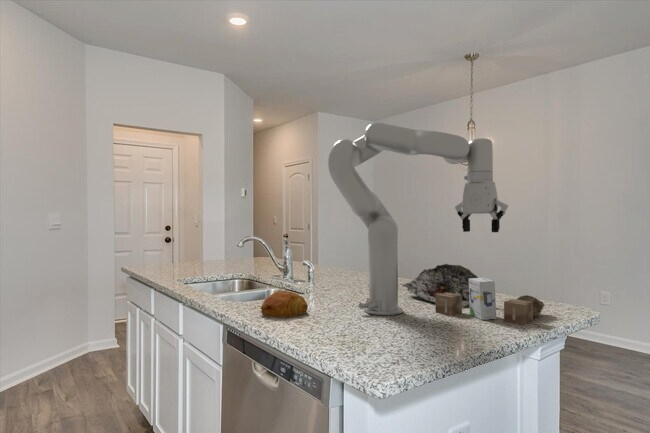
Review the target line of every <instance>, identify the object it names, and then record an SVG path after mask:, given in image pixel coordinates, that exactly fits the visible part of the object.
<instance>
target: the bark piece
mask: <svg viewBox="0 0 650 433" xmlns="http://www.w3.org/2000/svg"><path fill="white" fill-rule="evenodd" d="M470 278H479V277H478V276H477V275H476V274H475V273H474V272H472V271H471V270H470V269H468V268H466V267H464V266H462V265H460V264H449V263H444V264H441V265H439V264H438V265H436V266H435V267H434V268H429V269H423V271H421V272H420V273H419V275H418V276H417V277H416V278H414V279H413V280H411V281H409V282H406V283H405V284H401V286H402V287H403V288H406V290H407V291H408V292H409V293H412V294H414V295H415V296H418V297H419V298H421V299H424V300H425V301H428V302H432V303H435V304H436V294H441V293H446V292H447V293H453V294H459V295H462V309H463V308H464V307H467V306H468V305H469V279H470Z"/></svg>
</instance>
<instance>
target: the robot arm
mask: <svg viewBox="0 0 650 433" xmlns="http://www.w3.org/2000/svg"><path fill="white" fill-rule="evenodd" d="M493 147H494V146H493V141H492V140H491V139H490V138H486V137H485V138H474V139H470V140H469V141H468V140H467V138H465V137H463V136H460V135H456V134H452V133H447V132H442V131H436V130H424V129H414V128H410V127H403V126H398V125H393V124H387V123H384V122H376V121H375V122H372V123H370V124H368V125H367V127H366V128H365V130H364V135H363V136H361V137H359V138H357V139H355V140H354V141H353V140H352V139H349V138H342V139H340V140H337V141H336V142H335V143H334V144H333V146H332V147H331V150H330V152H329V155H328V158H327V159H328V160H327V166H328V171H329V172H328V173H329V175H330V177H331V179H332V181H333V183H334V184H335V186H336V187H337V189H338V190H339V192H340V193H341V195H342V197H343V198H344V199H345V201H346V202H347V204H348V205H349V207H350V208H351V210H352V212H353V214H354V215H355V216H357V217H358V218H360V219H359V220H360V221H361V222H362V223H363V225H364V226H365V227H366V228H367V230H368V231H367V242H368V282H369V283H368V297H367V298H366V301H363V302H359V304H358V308H359V309H361V310H362V309H364V310H363V311H364V312H365V313H367V314H370V315H375V316H376V315H377V316H395V315H400V314H402V313H403V310H404V309H403V307H402V306H400V305H399V276H398V275H399V267H398V266H399V262H398V257H399V256H398V254H399V252H398V251H399V250H398V249H399V248H398V244H399V242H398V240H399V239H398V238H399V234H398V233H399V226H398V223H397V221H396V220H395V219H394V218H393V216H392V215H391V213H390V212H389V210H388V209H387V208H386V207H385V205H384V204H383V202H382V201H381V200H380V198H379V197H378V195H376V194H375V193H374V192H373V191H372V190H371V189H370V188H369V186H368V185H367V184H366V182H365V181H364V180H363V178H362V177H361V175H360V174H359V172H358V170H356V167H358V166H360V165H361V164H363V163H365V162H366V161H368V160H370V159H372V158H373V157H375V156H377V155H378V154H380V153H382V152H384V151H387V152H392V153H398V154H402V155H406V156H417V155H427V156H428V155H430V156H434V157H435V156H436V157H439V158H440V157H441V158H443V160H444V161H445V162H446V163H448V164H450V165H457V164H460V165H461V164H465V163H466V164H467V173H466V174H467V175H464V178H463V179H464V180H465V181H466V182H465V183H464V188H463V193H462V202H460V203H458V204H457V205H455V207H454V208H455V210H456V211H455V212H456V213H457V215H458V216H459V217H460V220H462V223H461V224H462V226H461V227H462V231H463V232H465V233H467V232H470V231H471V220H470V219H469V218H470V216H472V214H477V215H478V214H489V215H490V216H491V218H492V219H491V233H499V232H500V231H499V230H500V220H501V219H502V217H503V216H504V215H505V214H506V211H507V209H508V207H509V206H508V204H507V203H504V202H502V201H500V200H499V199H498V192H497V185H496V183H495V181H494V172H493V171H494V166H493V161H494V160H493V159H494V158H493V152H494V150H493ZM499 207H500V210H499ZM498 210H499V211H498Z"/></svg>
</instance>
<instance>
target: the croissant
mask: <svg viewBox="0 0 650 433" xmlns="http://www.w3.org/2000/svg"><path fill="white" fill-rule="evenodd" d="M308 309H309V307H308V304H307V301H306V300H305V298H304V297H303V296H301V295H299V294H297V293H295V292H291V291H280V290H279V291H274V293H272V294H270V295H269V296H268V297H266V298H265V300H263V303H262V304H261V306H260V313H261V314H262V315H264V316H266V317H270V318H271V317H272V318H293V317H297V316H301V315H304V314H306V313H307V311H308Z"/></svg>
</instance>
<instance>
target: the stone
mask: <svg viewBox="0 0 650 433" xmlns="http://www.w3.org/2000/svg"><path fill="white" fill-rule="evenodd" d="M515 299H516V300H523V301H530V302H533V317H535V316H538V315H539V314H540V313H541V312H542V311H543V308H544V307H545V303H544V302H543V301H541V300H539V299H538V298H536V297H534V296H532V295H528V294H527V295H521V296H519V297H517V298H515Z"/></svg>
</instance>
